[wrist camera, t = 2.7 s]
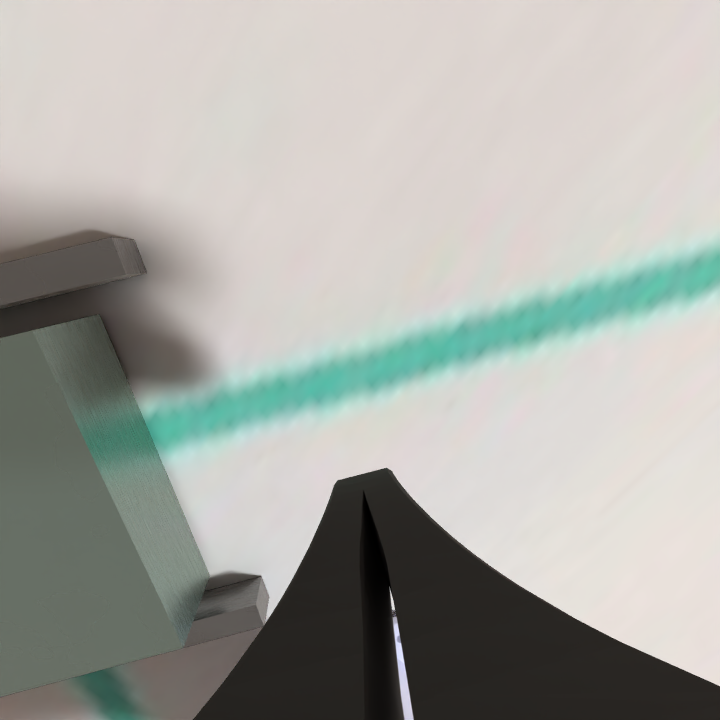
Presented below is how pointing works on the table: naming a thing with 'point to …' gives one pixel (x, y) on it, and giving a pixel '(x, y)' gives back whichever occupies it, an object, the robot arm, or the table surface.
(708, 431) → the table surface
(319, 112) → the table surface
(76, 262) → the vise body
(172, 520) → the sliding jaw
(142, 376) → the table surface
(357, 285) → the table surface
